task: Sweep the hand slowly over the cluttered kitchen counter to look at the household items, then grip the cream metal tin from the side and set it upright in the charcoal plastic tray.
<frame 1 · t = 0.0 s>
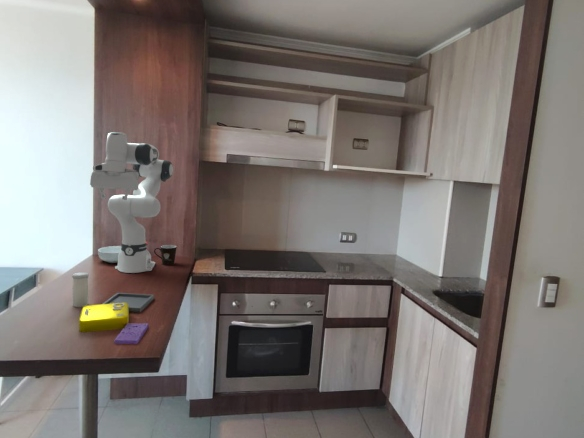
hand: (114, 199, 166), 39 cm above the table, tool pointing down, fingers open, 8 cm apart
tin: (80, 304, 144), on the table
coffee mug: (166, 263, 210), on the table
element tile: (105, 323, 130), on the table
cereal bowl: (114, 261, 208), on the table
tray: (128, 304, 147), on the table
sponges: (132, 337, 122), on the table
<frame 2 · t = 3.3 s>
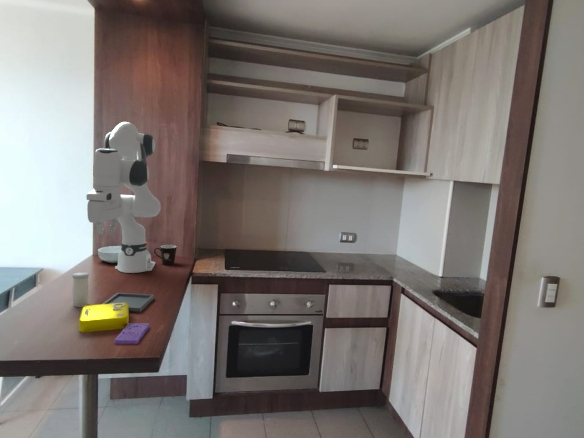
hand: (107, 231, 135), 30 cm above the table, tool pointing down, fingers open, 8 cm apart
nothing on the table moved.
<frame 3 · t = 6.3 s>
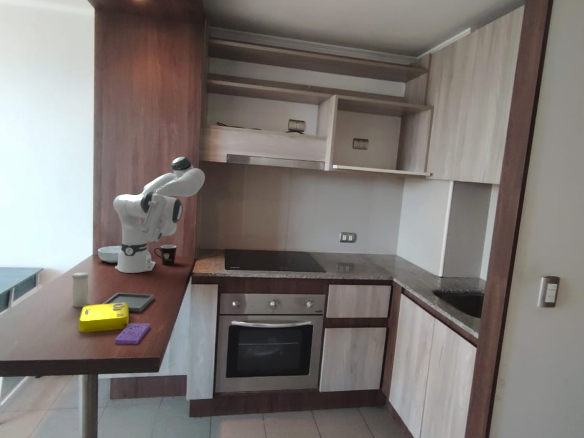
hand: (145, 213, 149), 36 cm above the table, tool pointing upward, fingers open, 8 cm apart
nothing on the table moved.
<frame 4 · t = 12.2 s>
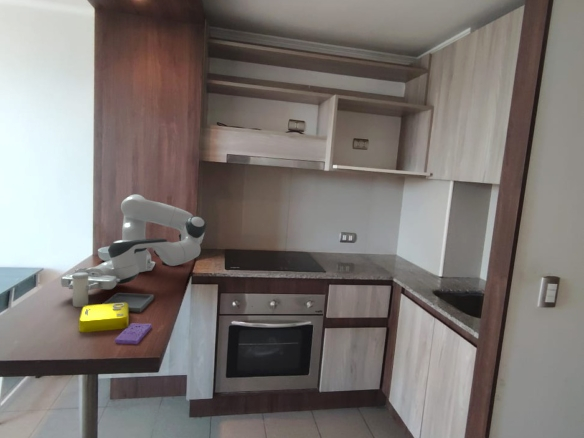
hand: (79, 287, 142), 7 cm above the table, tool horizontal, fingers closed on tin, 5 cm apart
tin: (80, 304, 144), on the table, touching gripper
everything else where it was.
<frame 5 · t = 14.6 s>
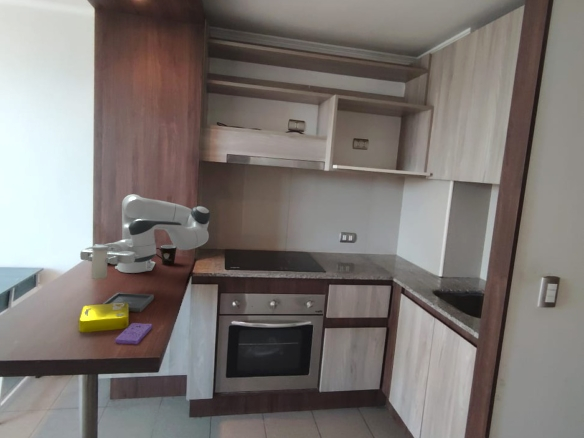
hand: (98, 260, 141), 18 cm above the table, tool horizontal, fingers closed on tin, 5 cm apart
tin: (99, 277, 143), point 11 cm above the table, touching gripper
everything else where it was.
when the fingers open (9 cm above the table, at t = 17.2 s): tin drops 2 cm, resting on tray.
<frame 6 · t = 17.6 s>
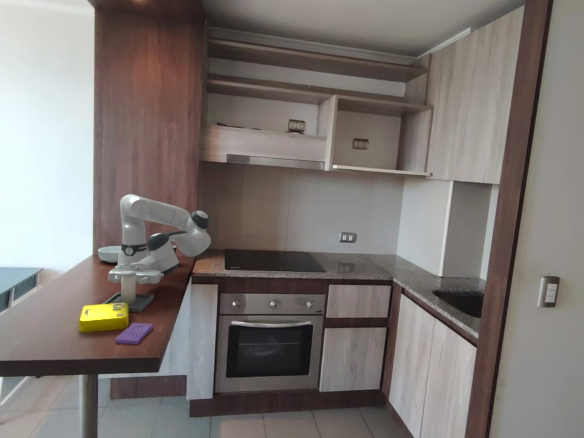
hand: (127, 281, 145), 9 cm above the table, tool horizontal, fingers open, 8 cm apart
tin: (128, 302, 147), point 1 cm above the table, touching tray
everything else where it was.
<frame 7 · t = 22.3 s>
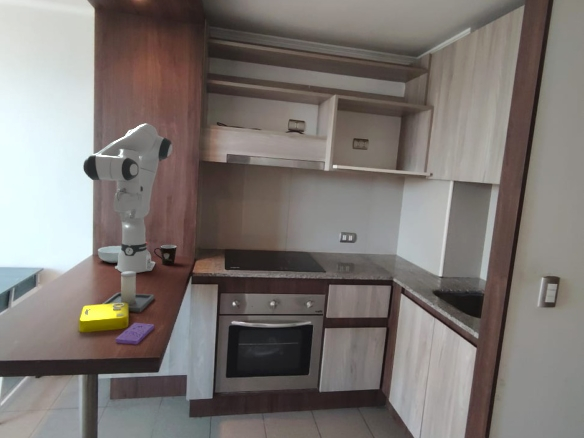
hand: (128, 220, 159), 31 cm above the table, tool pointing down, fingers open, 8 cm apart
at the end: tin inside the target area on the tray (0.1 cm from its centre), point 0.8 cm above the tray's base; tin tilted 0°; the gripper is holding nothing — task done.
